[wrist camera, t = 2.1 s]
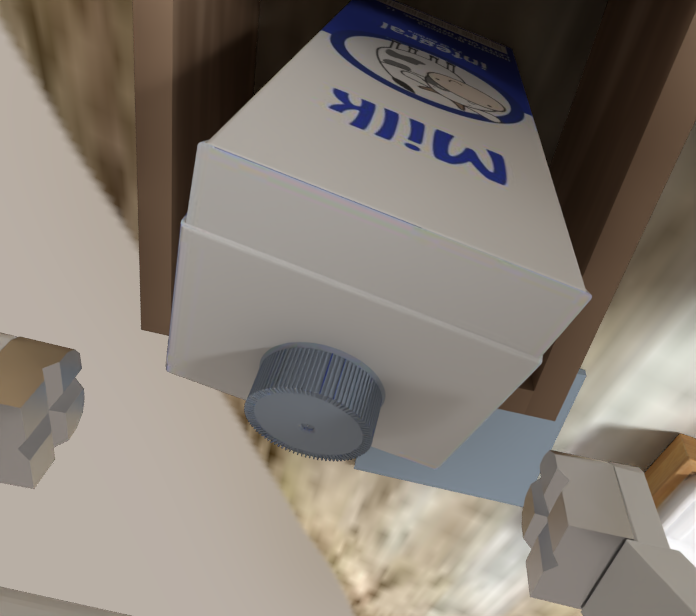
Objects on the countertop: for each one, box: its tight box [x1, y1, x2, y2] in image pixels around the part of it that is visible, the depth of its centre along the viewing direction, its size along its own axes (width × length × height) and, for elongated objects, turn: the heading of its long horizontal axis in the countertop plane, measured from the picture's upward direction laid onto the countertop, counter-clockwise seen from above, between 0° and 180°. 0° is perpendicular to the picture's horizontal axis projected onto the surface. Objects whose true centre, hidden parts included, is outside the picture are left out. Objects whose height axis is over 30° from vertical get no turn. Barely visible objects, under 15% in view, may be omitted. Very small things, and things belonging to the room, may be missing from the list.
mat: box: [354, 369, 586, 507], centre depth 38 cm, size 11×11×1 cm
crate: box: [133, 0, 696, 421], centre depth 25 cm, size 16×16×10 cm
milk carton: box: [166, 0, 592, 470], centre depth 20 cm, size 7×7×20 cm
